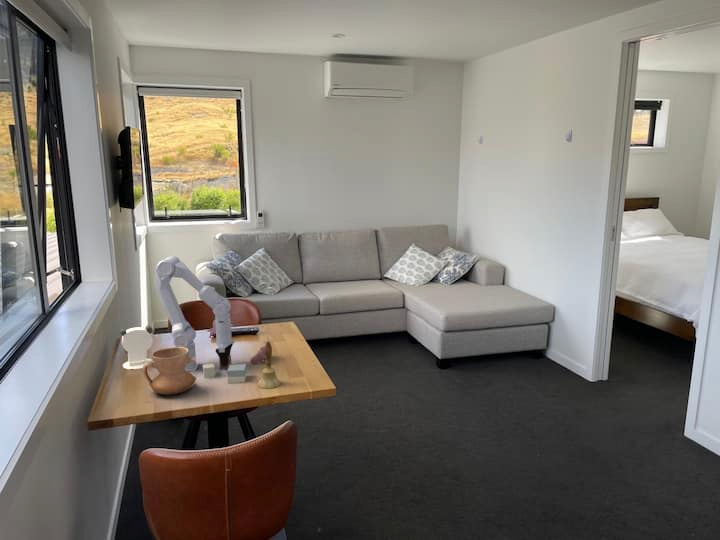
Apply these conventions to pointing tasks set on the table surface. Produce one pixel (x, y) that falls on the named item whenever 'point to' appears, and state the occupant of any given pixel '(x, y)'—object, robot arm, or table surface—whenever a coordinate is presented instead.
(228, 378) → the tower base
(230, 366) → the tower top
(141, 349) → the panda figurine
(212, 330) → the lily
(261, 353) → the video game controller
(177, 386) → the ceramic jug
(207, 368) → the cream cube
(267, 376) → the hand bell
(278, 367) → the table surface
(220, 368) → the walnut cube
